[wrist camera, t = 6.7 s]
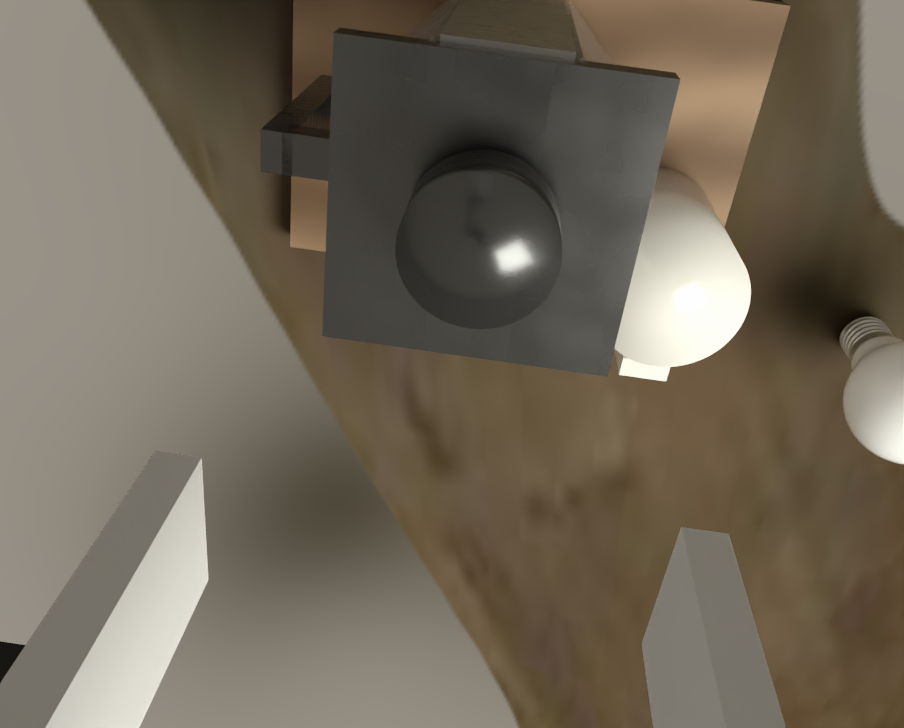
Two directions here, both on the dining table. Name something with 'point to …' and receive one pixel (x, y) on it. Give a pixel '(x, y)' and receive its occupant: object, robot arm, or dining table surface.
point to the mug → (680, 284)
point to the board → (626, 43)
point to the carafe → (480, 128)
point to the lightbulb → (875, 387)
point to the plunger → (480, 240)
